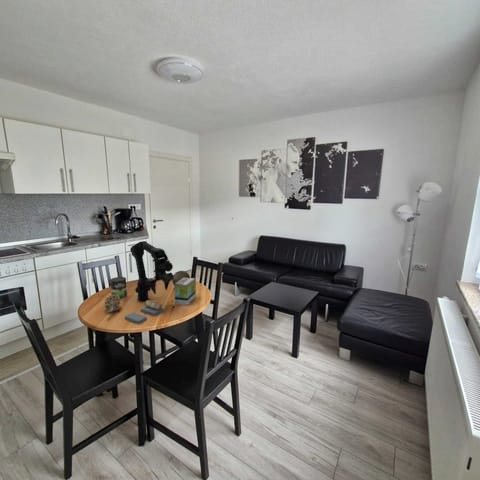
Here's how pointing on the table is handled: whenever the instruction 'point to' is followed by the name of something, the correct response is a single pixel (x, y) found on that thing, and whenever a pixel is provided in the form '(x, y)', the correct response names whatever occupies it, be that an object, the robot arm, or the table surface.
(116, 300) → the pine cone
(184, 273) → the cantaloupe
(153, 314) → the slate board
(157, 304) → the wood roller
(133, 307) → the table surface
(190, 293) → the tea box
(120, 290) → the coffee can
